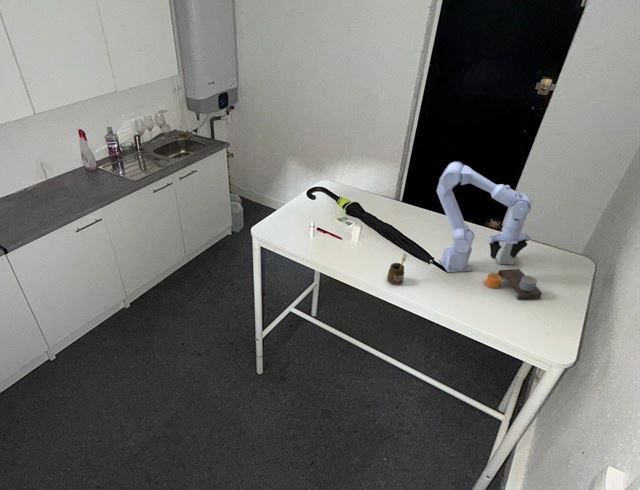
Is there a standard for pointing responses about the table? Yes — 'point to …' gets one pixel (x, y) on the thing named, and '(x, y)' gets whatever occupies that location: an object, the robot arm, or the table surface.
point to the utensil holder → (396, 272)
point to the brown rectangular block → (514, 279)
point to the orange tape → (493, 280)
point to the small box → (505, 253)
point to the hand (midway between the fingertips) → (502, 256)
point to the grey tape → (527, 283)
